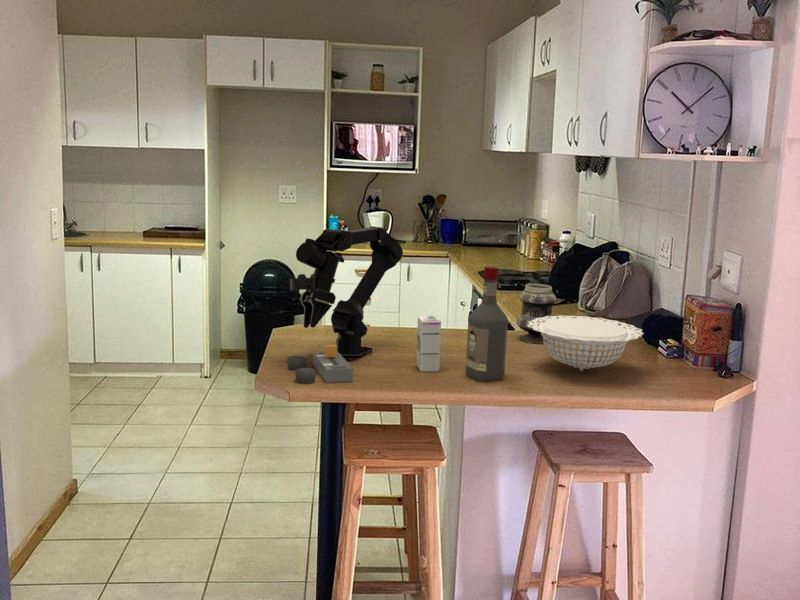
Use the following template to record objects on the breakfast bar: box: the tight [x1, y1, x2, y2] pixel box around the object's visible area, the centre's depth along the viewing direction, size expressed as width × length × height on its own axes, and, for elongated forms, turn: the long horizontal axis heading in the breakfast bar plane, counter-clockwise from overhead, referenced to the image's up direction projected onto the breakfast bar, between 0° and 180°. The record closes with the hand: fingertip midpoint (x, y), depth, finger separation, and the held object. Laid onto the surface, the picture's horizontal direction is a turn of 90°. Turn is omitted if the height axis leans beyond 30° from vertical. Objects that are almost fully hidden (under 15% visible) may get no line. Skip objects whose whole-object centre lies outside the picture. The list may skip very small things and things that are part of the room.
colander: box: [528, 315, 644, 372], centre depth 233 cm, size 32×32×13 cm
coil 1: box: [287, 355, 308, 372], centre depth 225 cm, size 5×5×3 cm
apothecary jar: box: [516, 283, 557, 344], centre depth 267 cm, size 12×12×18 cm
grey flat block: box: [312, 351, 354, 384], centre depth 222 cm, size 7×18×4 cm, turn 17°
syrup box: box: [415, 315, 442, 372], centre depth 228 cm, size 6×6×14 cm
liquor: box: [464, 266, 509, 383], centre depth 221 cm, size 9×9×30 cm
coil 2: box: [295, 367, 316, 385], centre depth 214 cm, size 5×5×3 cm
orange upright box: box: [323, 343, 337, 357], centre depth 224 cm, size 3×2×3 cm, turn 107°
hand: (308, 327), depth 226 cm, fingers open, 9 cm apart
